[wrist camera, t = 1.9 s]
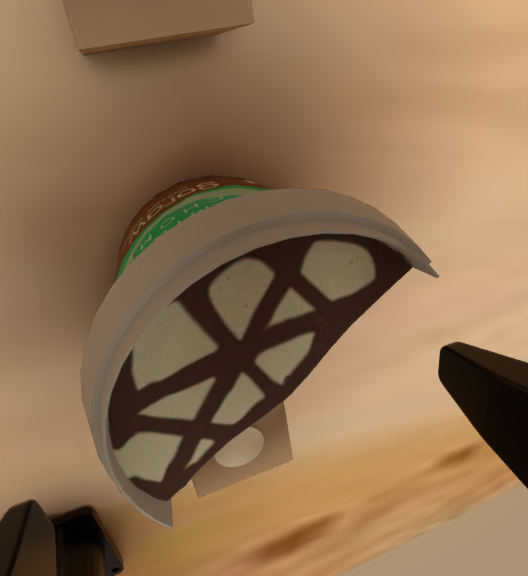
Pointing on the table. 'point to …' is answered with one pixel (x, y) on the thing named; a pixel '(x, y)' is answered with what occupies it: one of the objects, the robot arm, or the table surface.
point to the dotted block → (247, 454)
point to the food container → (224, 320)
